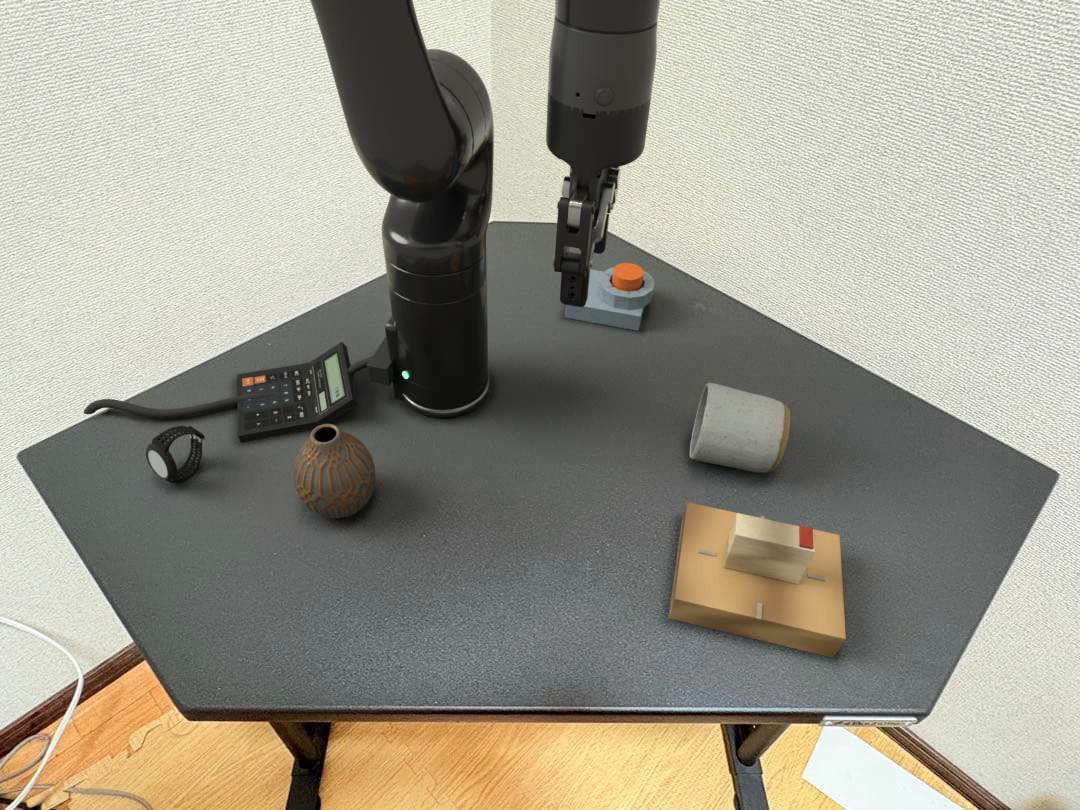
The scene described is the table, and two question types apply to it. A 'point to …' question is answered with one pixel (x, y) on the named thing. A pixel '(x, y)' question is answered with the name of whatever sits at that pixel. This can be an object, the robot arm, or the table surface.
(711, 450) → the ceramic mug
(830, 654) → the knob base
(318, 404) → the calculator
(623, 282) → the button
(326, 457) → the vase
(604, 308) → the button block
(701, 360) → the table surface
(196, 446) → the smartwatch
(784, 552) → the cream red striped block
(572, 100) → the robot arm
